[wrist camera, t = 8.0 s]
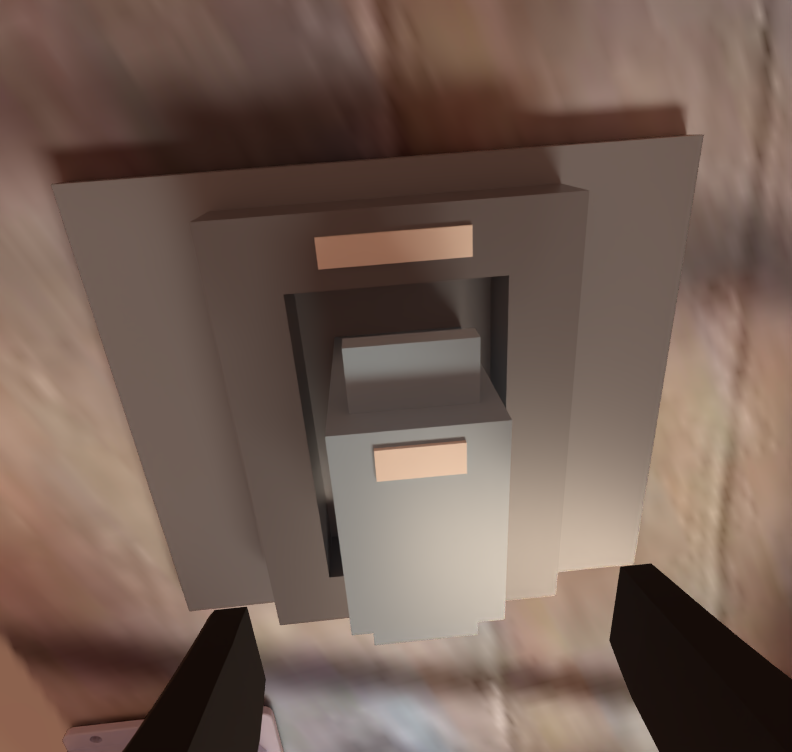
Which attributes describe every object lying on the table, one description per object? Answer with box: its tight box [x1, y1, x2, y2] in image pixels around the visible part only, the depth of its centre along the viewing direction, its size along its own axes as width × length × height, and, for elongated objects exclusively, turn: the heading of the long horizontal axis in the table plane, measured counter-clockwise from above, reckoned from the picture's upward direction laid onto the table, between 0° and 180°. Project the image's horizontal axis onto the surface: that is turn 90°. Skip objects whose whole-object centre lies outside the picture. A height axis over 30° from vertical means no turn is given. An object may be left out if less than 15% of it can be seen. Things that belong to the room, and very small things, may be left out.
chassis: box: [51, 135, 704, 625], centre depth 17 cm, size 18×16×3 cm
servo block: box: [325, 327, 512, 645], centre depth 15 cm, size 4×9×6 cm, turn 3°
